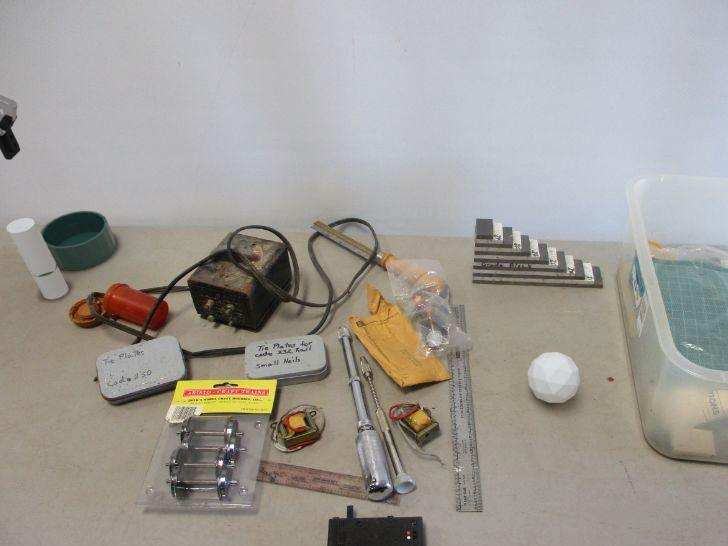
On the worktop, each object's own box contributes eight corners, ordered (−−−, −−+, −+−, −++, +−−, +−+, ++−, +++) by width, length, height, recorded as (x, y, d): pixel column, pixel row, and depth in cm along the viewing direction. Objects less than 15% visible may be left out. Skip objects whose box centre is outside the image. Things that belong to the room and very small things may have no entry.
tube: (38, 297, 108) (0, 230, 97) (53, 282, 111) (18, 216, 100) (58, 301, 107) (22, 234, 97) (73, 285, 110) (40, 219, 100)
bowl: (39, 269, 113) (27, 246, 109) (68, 231, 122) (57, 209, 118) (101, 271, 113) (91, 249, 109) (125, 233, 122) (116, 211, 118)
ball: (538, 410, 93) (515, 392, 88) (544, 364, 97) (523, 344, 91) (585, 412, 89) (564, 393, 83) (589, 363, 92) (570, 341, 87)
